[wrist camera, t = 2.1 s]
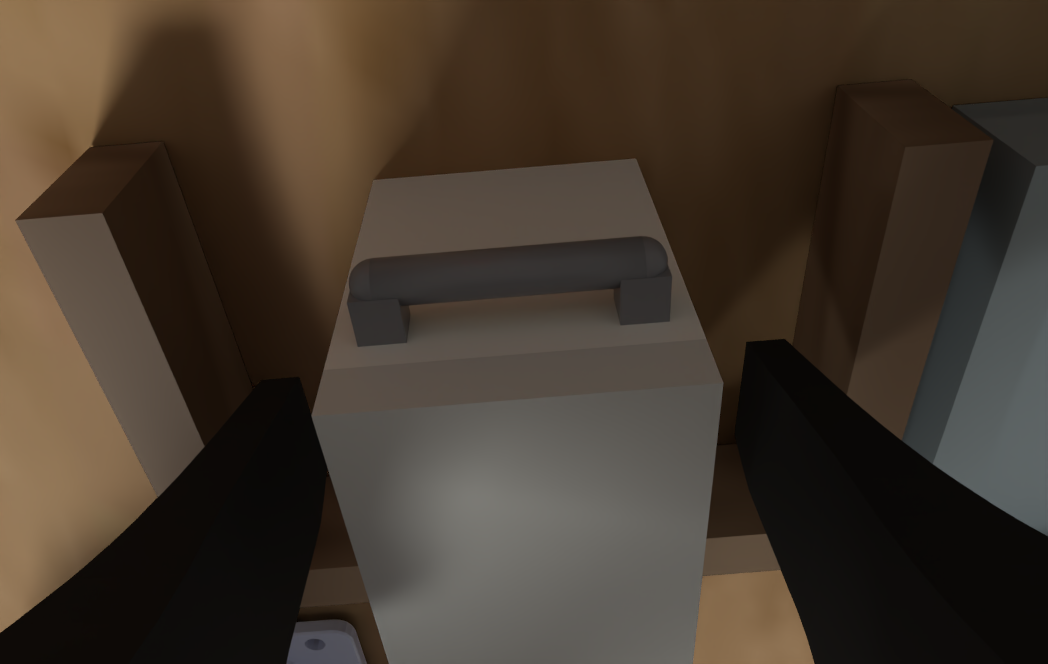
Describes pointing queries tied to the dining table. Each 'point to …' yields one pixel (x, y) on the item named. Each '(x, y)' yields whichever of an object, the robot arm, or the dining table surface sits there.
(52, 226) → the walnut bay
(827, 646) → the robot arm
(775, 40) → the dining table surface
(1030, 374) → the slate tray
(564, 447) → the box
